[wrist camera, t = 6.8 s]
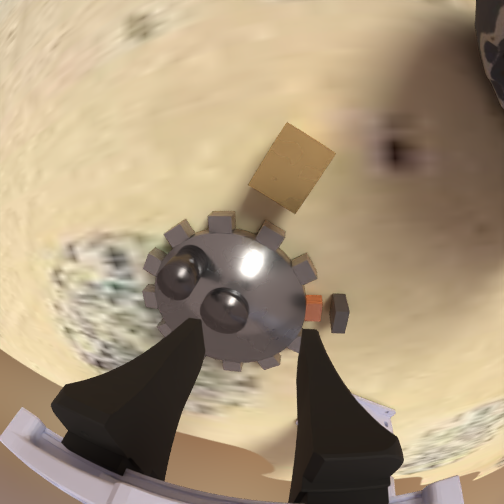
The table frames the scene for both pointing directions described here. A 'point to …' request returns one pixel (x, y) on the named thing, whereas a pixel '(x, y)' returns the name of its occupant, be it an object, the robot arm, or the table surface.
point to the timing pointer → (339, 313)
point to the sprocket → (233, 290)
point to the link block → (291, 168)
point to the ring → (491, 42)
